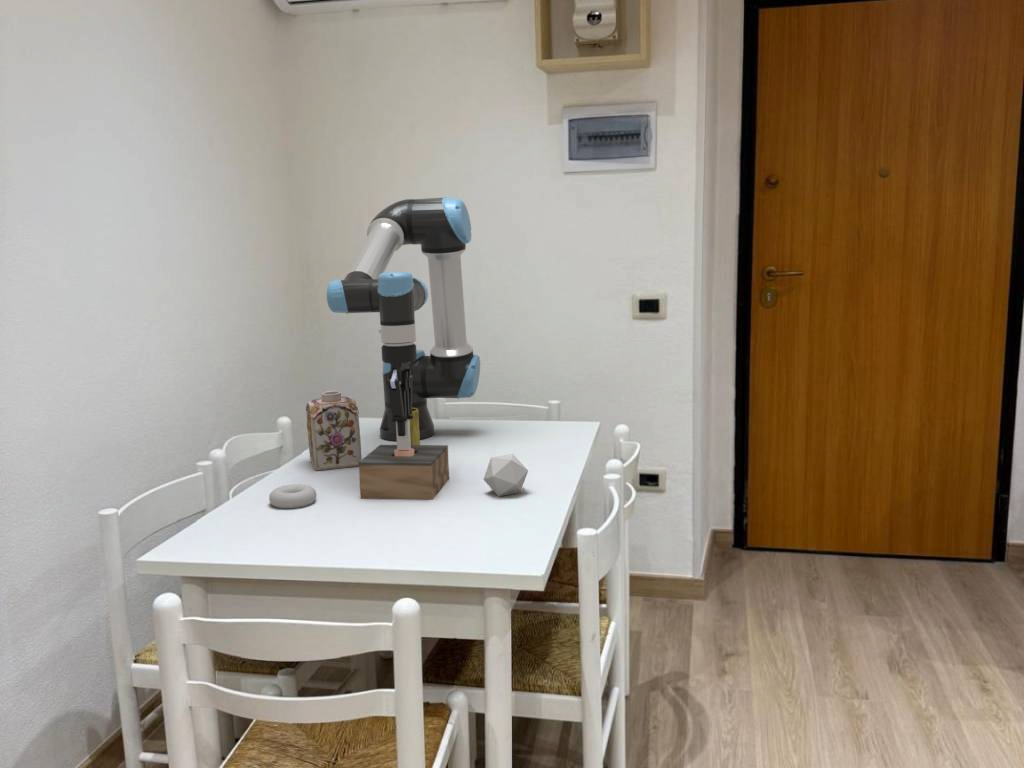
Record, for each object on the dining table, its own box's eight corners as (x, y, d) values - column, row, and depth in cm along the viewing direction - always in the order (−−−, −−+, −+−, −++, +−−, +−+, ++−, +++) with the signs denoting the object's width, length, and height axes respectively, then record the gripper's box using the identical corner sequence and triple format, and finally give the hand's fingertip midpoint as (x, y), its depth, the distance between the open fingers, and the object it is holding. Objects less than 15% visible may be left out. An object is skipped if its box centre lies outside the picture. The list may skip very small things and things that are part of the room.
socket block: (382, 478, 224) (380, 444, 222) (449, 479, 221) (447, 445, 220) (360, 498, 208) (358, 462, 207) (432, 499, 205) (430, 463, 204)
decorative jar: (355, 455, 246) (351, 386, 243) (363, 466, 235) (358, 394, 232) (308, 460, 243) (303, 390, 240) (313, 471, 232) (308, 398, 229)
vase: (418, 470, 229) (415, 412, 227) (394, 470, 230) (390, 412, 228) (425, 464, 235) (423, 407, 233) (401, 463, 236) (398, 407, 234)
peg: (399, 480, 217) (397, 447, 216) (418, 480, 216) (416, 447, 215) (393, 485, 213) (391, 452, 211) (413, 486, 212) (411, 452, 211)
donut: (311, 495, 213) (265, 500, 209) (311, 480, 212) (265, 485, 209) (321, 507, 204) (273, 513, 200) (320, 491, 203) (272, 497, 199)
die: (517, 487, 215) (489, 453, 214) (542, 474, 209) (513, 439, 208) (498, 510, 209) (468, 475, 208) (523, 497, 203) (493, 461, 202)
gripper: (390, 339, 216) (395, 442, 220) (373, 347, 203) (379, 456, 207) (422, 339, 215) (427, 442, 219) (407, 347, 202) (412, 456, 206)
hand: (404, 449), depth 213 cm, fingers closed
